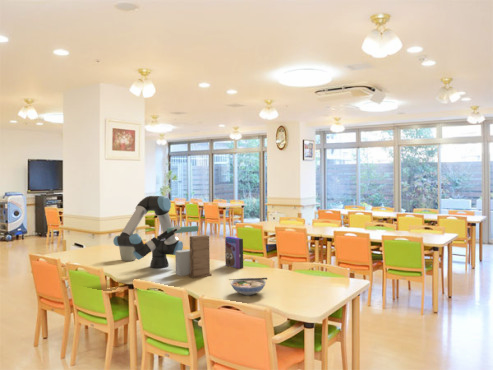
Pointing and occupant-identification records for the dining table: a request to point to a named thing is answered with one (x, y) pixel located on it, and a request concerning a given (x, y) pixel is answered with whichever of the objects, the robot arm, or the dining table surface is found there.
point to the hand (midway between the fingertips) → (178, 226)
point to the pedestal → (199, 256)
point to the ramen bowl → (248, 285)
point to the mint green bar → (184, 229)
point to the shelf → (182, 262)
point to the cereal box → (234, 252)
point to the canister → (127, 253)
